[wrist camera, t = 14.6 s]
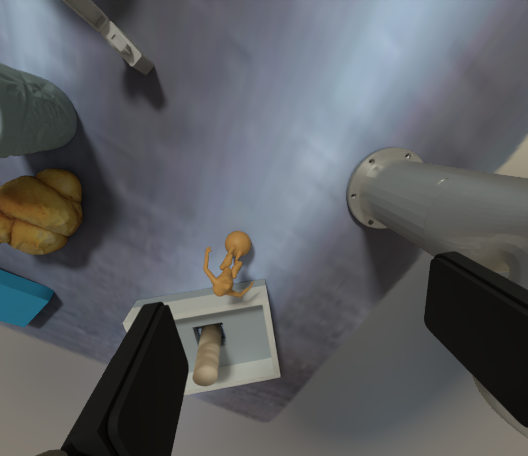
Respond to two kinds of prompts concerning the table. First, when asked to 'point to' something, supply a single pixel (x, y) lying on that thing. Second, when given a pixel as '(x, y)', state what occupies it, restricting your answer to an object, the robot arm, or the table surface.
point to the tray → (236, 330)
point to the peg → (208, 355)
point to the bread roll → (40, 211)
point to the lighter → (111, 34)
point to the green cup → (32, 114)
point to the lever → (21, 299)
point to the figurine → (236, 247)
